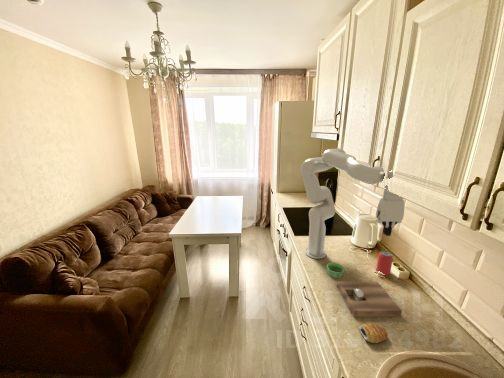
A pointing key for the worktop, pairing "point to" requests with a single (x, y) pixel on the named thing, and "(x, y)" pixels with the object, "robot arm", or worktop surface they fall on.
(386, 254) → the beer can
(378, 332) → the pastry
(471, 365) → the worktop surface
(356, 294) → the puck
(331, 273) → the ramekin
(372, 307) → the wooden board with recess
